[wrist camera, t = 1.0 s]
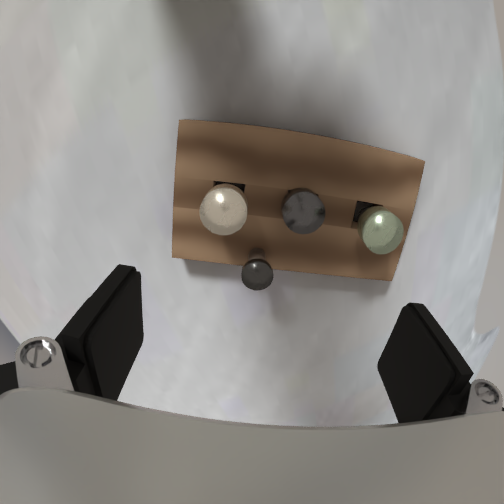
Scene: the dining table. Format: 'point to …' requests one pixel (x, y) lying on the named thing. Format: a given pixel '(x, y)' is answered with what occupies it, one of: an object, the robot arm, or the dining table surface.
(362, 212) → the knob sage
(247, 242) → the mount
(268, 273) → the dial post
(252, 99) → the dining table surface
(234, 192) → the knob cream
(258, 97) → the dining table surface
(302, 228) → the knob charcoal
